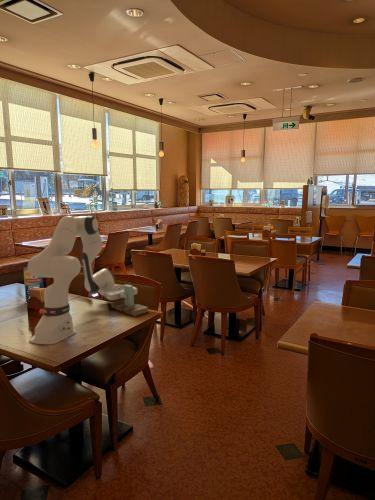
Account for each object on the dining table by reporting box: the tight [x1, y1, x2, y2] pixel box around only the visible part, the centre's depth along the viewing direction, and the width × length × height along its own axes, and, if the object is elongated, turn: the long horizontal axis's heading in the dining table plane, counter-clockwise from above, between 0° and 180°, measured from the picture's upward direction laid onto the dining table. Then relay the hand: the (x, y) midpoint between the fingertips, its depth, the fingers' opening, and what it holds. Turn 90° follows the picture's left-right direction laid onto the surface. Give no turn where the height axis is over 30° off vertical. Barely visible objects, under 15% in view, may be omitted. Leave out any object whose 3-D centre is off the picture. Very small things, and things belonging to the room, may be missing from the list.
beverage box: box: [23, 266, 44, 303], centre depth 233 cm, size 7×11×22 cm, turn 113°
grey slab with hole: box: [110, 299, 149, 317], centre depth 215 cm, size 22×10×3 cm, turn 47°
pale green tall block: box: [124, 284, 135, 307], centre depth 214 cm, size 5×3×14 cm, turn 47°
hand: (130, 295), depth 213 cm, fingers closed on pale green tall block, 3 cm apart
